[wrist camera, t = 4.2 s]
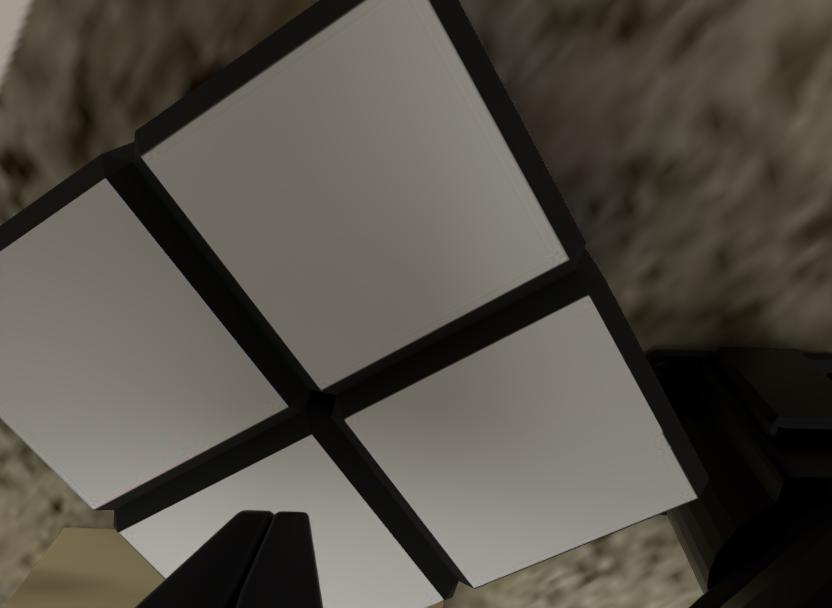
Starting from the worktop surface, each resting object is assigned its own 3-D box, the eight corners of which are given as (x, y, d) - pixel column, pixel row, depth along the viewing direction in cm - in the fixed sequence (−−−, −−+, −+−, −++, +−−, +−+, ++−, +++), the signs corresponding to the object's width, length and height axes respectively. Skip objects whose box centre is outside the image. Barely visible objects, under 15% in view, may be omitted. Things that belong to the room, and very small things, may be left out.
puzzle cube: (593, 282, 20) (726, 504, 11) (334, 415, 22) (259, 689, 13) (430, -22, 16) (417, -79, 7) (145, 175, 19) (-132, 316, 10)
